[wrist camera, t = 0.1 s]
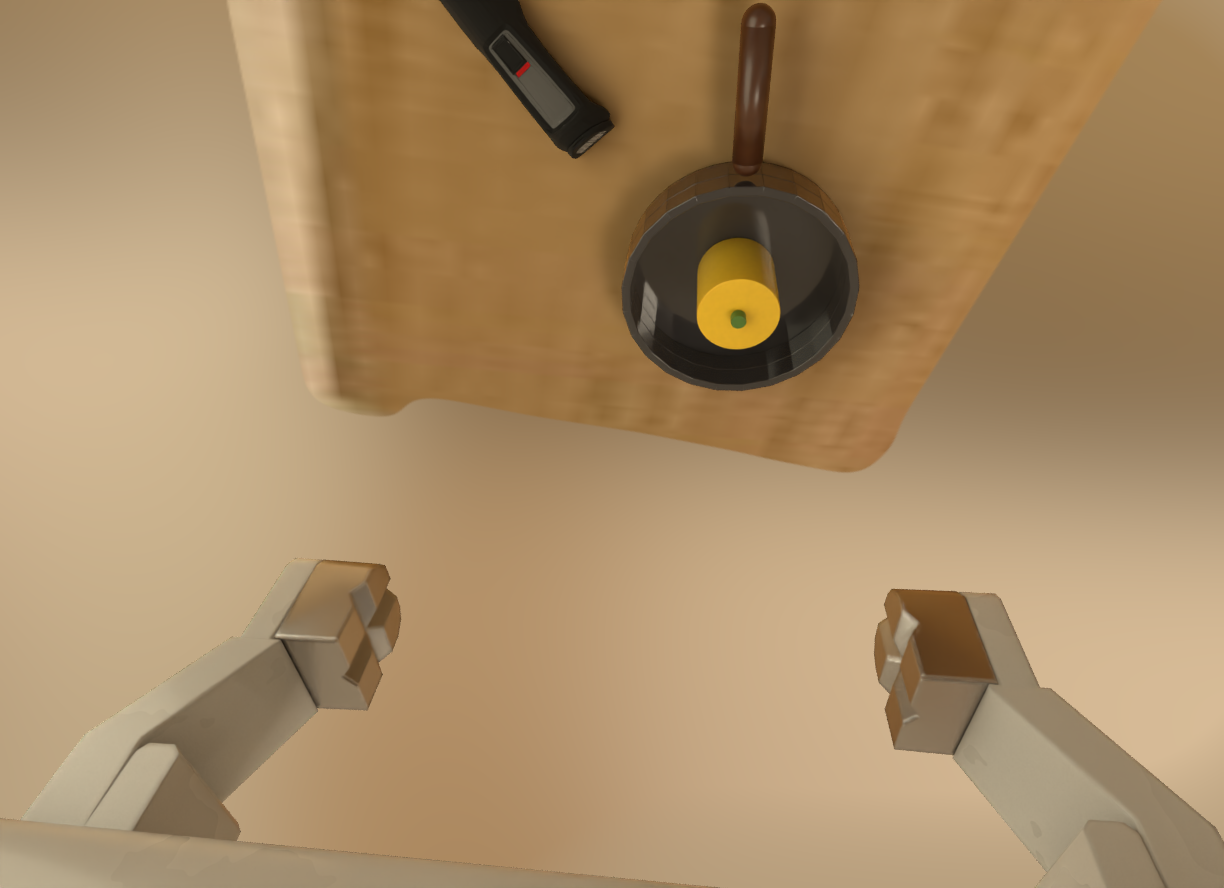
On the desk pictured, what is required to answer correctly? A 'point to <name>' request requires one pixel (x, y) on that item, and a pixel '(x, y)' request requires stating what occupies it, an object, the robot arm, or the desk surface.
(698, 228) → the pan
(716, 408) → the desk surface
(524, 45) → the electric trimmer
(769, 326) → the yellow pepper
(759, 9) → the pan handle
